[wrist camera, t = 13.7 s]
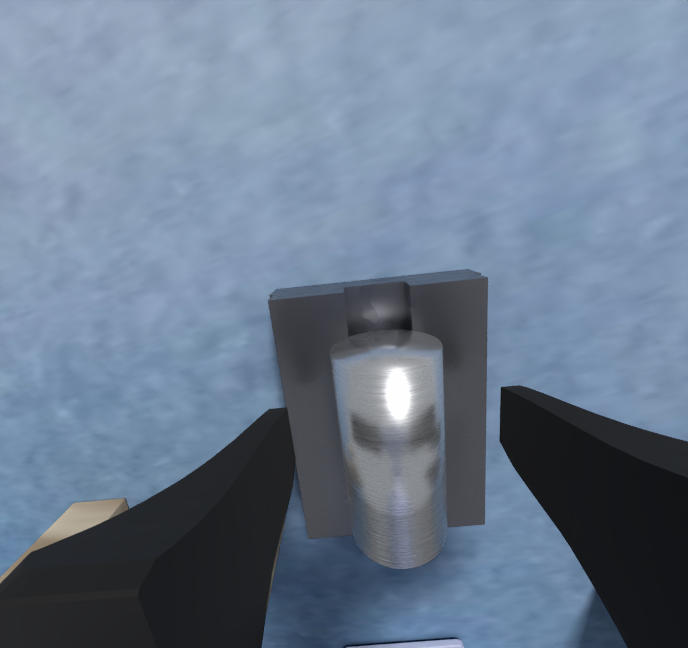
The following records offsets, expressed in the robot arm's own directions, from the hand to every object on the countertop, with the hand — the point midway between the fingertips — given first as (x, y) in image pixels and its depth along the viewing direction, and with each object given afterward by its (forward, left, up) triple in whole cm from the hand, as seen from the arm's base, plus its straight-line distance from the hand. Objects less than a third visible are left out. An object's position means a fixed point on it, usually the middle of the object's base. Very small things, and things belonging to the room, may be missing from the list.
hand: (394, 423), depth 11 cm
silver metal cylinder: (-2, 0, -4) cm, 4 cm away
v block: (-2, 0, -6) cm, 6 cm away
